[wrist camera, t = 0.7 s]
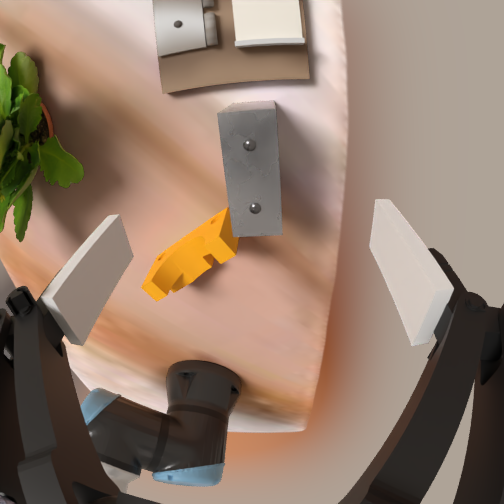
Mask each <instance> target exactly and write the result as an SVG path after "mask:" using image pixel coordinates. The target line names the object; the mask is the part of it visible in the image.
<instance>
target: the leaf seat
mask: <svg viewBox="0 0 504 504" xmlns="http://www.w3.org/2000/svg"><path fill="white" fill-rule="evenodd" d="M232 6H233V16H234V26H235V36H236V41H235V47H236V48H242V47H254V46H269V45H303V44H304V43H305V38H303V37H302V26H301V17H300V8H299V0H232Z"/></svg>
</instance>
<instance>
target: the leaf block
mask: <svg viewBox="0 0 504 504" xmlns="http://www.w3.org/2000/svg"><path fill="white" fill-rule="evenodd" d="M217 115H218V124H219V132H220V140H221V148H222V156H223V164H224V172H225V180H226V187H227V195H228V203H229V210H230V217H231V225H232V232H233V237H248V236H271V235H282V208H281V186H280V166H279V148H278V131H277V116H276V107H275V103H274V100H270V101H254V102H242V103H232V104H231V105H229V106H228V107H226V108H225V109H223V110H222V111H220V112H219V113H217Z"/></svg>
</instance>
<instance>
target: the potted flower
mask: <svg viewBox="0 0 504 504" xmlns="http://www.w3.org/2000/svg"><path fill="white" fill-rule="evenodd" d="M5 46H6V45H3V44H1V43H0V233H1V232H2V231H3V228H4V223H5V218H6V214H7V211H8V209H9V208H10V207H11V206H12V204H13V205H14V206H15V208H14V213H13V215H14V217H15V218H14V224H15V225H16V226H15V232H16V238H17V239H18V240H19V242H22V241H23V239H24V236H25V231H26V230H27V225H28V221H29V219H30V215H31V210H32V201H33V192H32V186H31V182H32V180H33V179H34V177H35V175H36V172H37V170H38V167H39V166H40V171H41V172H42V171H43V170H44V177H45V181H46V182H48V181H49V179H50V182H49V184H50V183H51V185H54V184H55V182H56V181H58V184H59V185H60V186H61V187H63V188H68V187H69V186H70V184H71V183H78V182H79V181H81V180H82V179H83V177H84V169H83V166H82V164H81V163H79V162H78V160H77V159H76V158H75V157H74V156H73V155H72V154H70V153H68V152H66V151H65V150H64V149H63V147H62V146H61V144H60V142H59V140H58V138H57V136H56V135H55V134H54V137H53V124H52V121H51V116H50V115H49V113H48V111H47V109H46V107H45V105H44V104H43V103H42V102H41V101H42V98H41V97H39V94H37V91H38V88H39V87H38V84H39V77H38V76H37V74H38V71H37V67H36V66H35V63H34V61H31V58H30V57H29V56H26V54H25V53H24V52H18V53H16V54H15V56H14V57H13V58H12V59H11V66H10V67H9V68H8V75H7V72H6V69H5V67H4V66H3V65H2V59H3V54H4V49H5ZM16 188H17V189H16ZM15 189H16V191H15Z"/></svg>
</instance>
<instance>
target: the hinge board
mask: <svg viewBox="0 0 504 504" xmlns="http://www.w3.org/2000/svg"><path fill="white" fill-rule="evenodd" d="M299 8H300V17H301V26H302V37H303V38H305V43H304V44H303V45H269V46H254V47H242V48H236V47H235V41H236V36H235V26H234V16H233V6H232V0H153V12H154V24H155V35H156V44H157V53H158V62H159V70H160V78H161V85H162V93H163V94H165V93H170V92H175V91H181V90H186V89H192V88H198V87H205V86H212V85H220V84H228V83H238V82H249V81H263V80H284V79H309V64H308V51H307V39H306V28H305V18H304V9H303V1H302V0H299Z"/></svg>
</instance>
